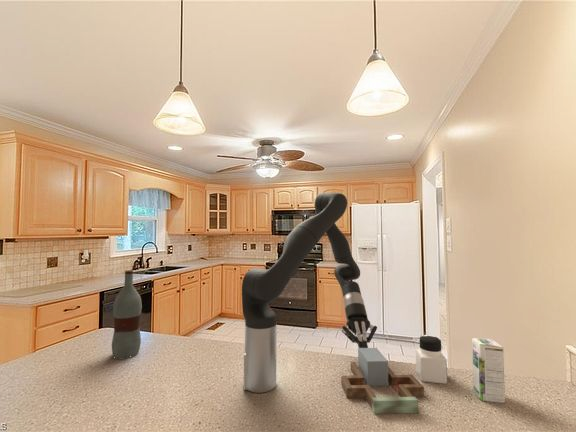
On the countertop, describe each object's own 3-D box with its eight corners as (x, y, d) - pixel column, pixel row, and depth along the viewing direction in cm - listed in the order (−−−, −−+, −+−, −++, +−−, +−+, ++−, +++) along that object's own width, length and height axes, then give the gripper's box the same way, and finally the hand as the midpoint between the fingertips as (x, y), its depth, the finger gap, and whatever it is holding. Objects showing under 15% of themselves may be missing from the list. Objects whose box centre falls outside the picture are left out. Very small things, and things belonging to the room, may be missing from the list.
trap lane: (353, 414, 71) (353, 401, 71) (335, 370, 94) (335, 360, 94) (438, 412, 72) (438, 399, 72) (399, 369, 95) (399, 359, 95)
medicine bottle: (447, 384, 85) (446, 342, 86) (421, 381, 87) (420, 340, 88) (440, 373, 92) (439, 334, 93) (416, 370, 94) (415, 332, 94)
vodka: (136, 347, 113) (139, 268, 114) (143, 354, 106) (146, 270, 108) (108, 353, 106) (111, 270, 108) (114, 362, 99) (117, 273, 101)
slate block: (367, 386, 84) (367, 361, 85) (358, 370, 94) (358, 348, 95) (388, 386, 85) (387, 361, 85) (376, 370, 94) (376, 347, 95)
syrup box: (472, 389, 82) (470, 337, 83) (495, 392, 81) (493, 338, 82) (481, 401, 77) (479, 344, 78) (506, 404, 76) (504, 346, 76)
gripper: (338, 302, 107) (346, 349, 94) (374, 301, 108) (387, 348, 95) (335, 312, 112) (343, 359, 99) (369, 312, 113) (381, 358, 100)
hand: (364, 354), depth 97 cm, fingers closed
